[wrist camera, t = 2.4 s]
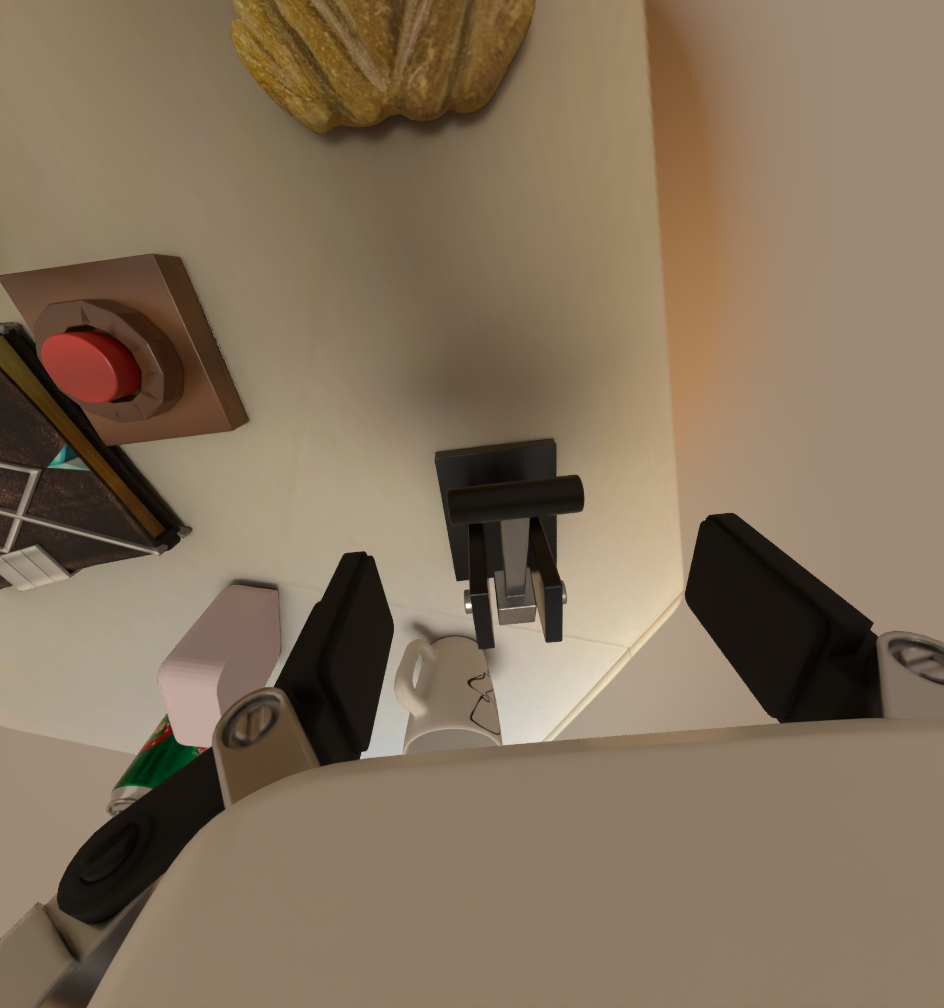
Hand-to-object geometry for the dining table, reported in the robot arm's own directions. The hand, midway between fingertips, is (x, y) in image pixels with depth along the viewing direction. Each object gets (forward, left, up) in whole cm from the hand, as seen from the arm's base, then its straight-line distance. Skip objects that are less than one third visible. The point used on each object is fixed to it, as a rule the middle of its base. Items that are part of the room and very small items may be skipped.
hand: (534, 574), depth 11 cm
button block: (-6, -22, -18) cm, 29 cm away
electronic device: (+18, -25, -18) cm, 36 cm away
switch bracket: (+9, 0, -18) cm, 20 cm away
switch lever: (+4, 0, -7) cm, 8 cm away
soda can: (+27, -33, -18) cm, 46 cm away
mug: (+25, -7, -18) cm, 32 cm away
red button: (-6, -22, -15) cm, 27 cm away
